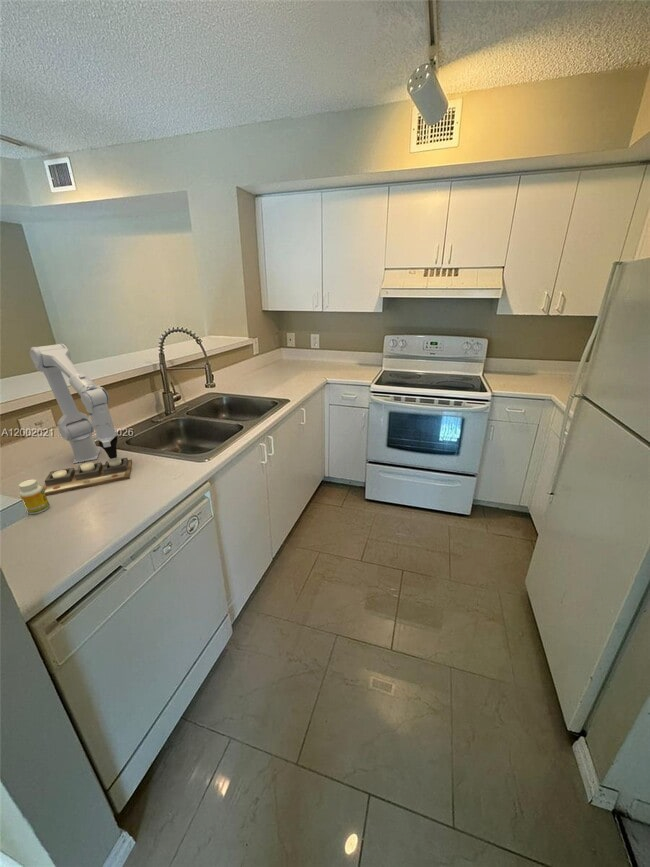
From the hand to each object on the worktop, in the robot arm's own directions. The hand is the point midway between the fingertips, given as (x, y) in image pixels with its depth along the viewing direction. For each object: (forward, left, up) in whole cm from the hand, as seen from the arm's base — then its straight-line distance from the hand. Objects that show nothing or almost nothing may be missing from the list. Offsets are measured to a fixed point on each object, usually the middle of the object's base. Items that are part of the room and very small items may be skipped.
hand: (113, 457), depth 121 cm
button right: (0, 0, -3) cm, 3 cm away
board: (+1, -9, -6) cm, 10 cm away
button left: (0, -17, -4) cm, 18 cm away
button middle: (0, -8, -3) cm, 9 cm away
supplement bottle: (+16, -20, -6) cm, 26 cm away
